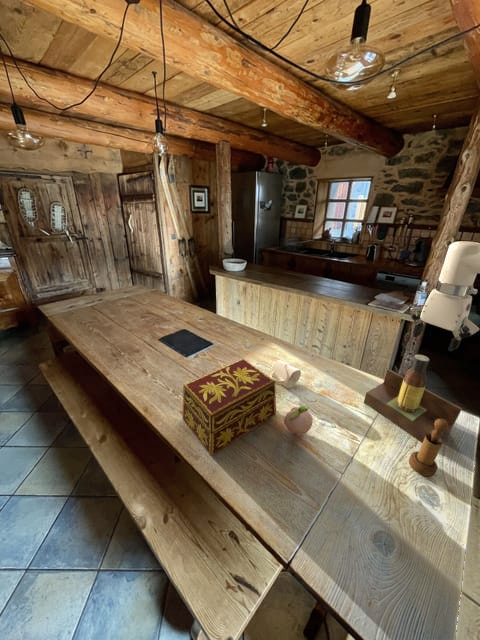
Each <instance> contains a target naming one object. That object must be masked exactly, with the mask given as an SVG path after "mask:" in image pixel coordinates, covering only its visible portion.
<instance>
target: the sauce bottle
mask: <svg viewBox="0 0 480 640" xmlns="http://www.w3.org/2000/svg"><path fill="white" fill-rule="evenodd" d="M412 362H413V363H412V365H411V367H410V368H408V370H407V371H406V372H405V375H404V377H405V378H404V380H403V383H402V386H401V390H400V393H399V396H398V402H397V405H398V406H399V407H400V408H401V409H402V410H404V411H407V412H415V411H416V410H417V408H418V407H419V404H420V401H421V398H422V395H423V392H424V389H426V386H427V368H428V365H429V364H430V358H429V357H428V356H426V355H423V354H415V355H414V357H413V361H412Z"/></svg>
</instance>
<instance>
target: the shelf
mask: <svg viewBox="0 0 480 640" xmlns="http://www.w3.org/2000/svg"><path fill="white" fill-rule="evenodd" d="M404 378H405V376H403V375H402V374H399V373H398V372H395V371H394V370H392V369H390V368H389V369H387V370H386V373H385V376H384V379H383V382H382V383H380V384H378V385H376V386H375V387H372V388H371V389H370V390H368V391H366V392H365V396H364V399H363V403H364V404H365V405H367V406H368V407H370V408H371V409H372V410H374V411H375V412H377V413H378V414H380V415H381V416H383V418H386V420H388V421H390V422H391V423H393V424H394V425H396V426H397V427H399V428H400V429H401V430H403V431H404V432H405V433H407V434H408V435H410V436H411V437H413V438H414V439H416V440H417V441H419V442H420V443H421V444H422V443H423V441H424V439H425V436H426V435H427V434H432V431H433V430H435V425H434V422H435V421H436V420H437V419H443V420H445V421H446V422H447V423H448V426H449V427H448V429H447V430H446V431H444V432H441V434H442V437H441V438H440V439H441V440H442V441H443V440H444V439H445V438H446V437H448V435H450V433H451V432H452V429H453V427H454V425H455V423H456V422H457V420H458V417H459V416H460V413H461V412H462V410H463V408H462V407H461V406H459V405H457V404H456V403H454V402H451V401H450V400H448V399H446V398H444V397H442V396H440V395H438V394H437V393H435V392H434V391H433V392H432V391H431V390H429V389H427V388H425V389H424V392H423V395H422V398H421V401H420V404H419V407H418V408H417V410H416V411H415V412H407V411H404V410H402V409H401V408H400V407H399V406H398V405H397V402H398V396H399V393H400V390H401V386H402V383H403V380H404Z"/></svg>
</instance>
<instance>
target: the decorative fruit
mask: <svg viewBox="0 0 480 640" xmlns="http://www.w3.org/2000/svg"><path fill="white" fill-rule="evenodd" d="M283 419H284V420H283V421H284V425H285V428H286V429H287V430H288V431H289V432H290V433H291V434H293V435H305V434H307V433H308V432H309V431H310V430H311V428H312V426H313V416H312V414H311V412H310V411H309V407H308V406H307V405H295V406H293V407H292V408H290V411H288V412H287V413H286V414H285V416H284V418H283Z"/></svg>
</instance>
